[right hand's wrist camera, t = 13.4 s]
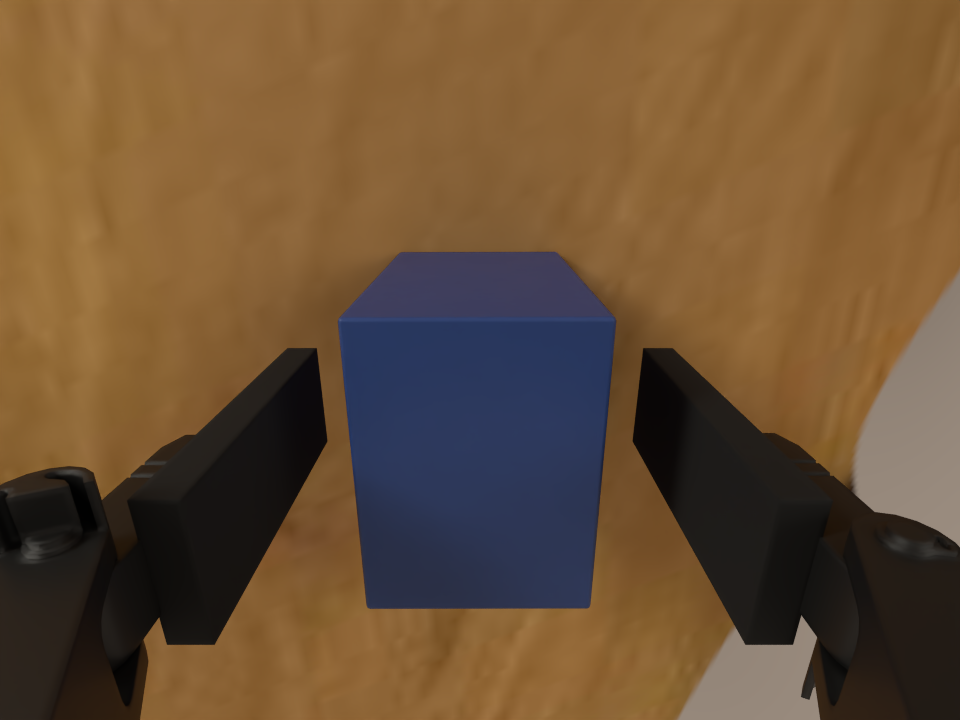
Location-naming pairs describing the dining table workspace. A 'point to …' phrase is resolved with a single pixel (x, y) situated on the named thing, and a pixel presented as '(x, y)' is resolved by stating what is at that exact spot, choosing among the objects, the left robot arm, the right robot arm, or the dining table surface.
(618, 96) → the dining table surface
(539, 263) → the block
